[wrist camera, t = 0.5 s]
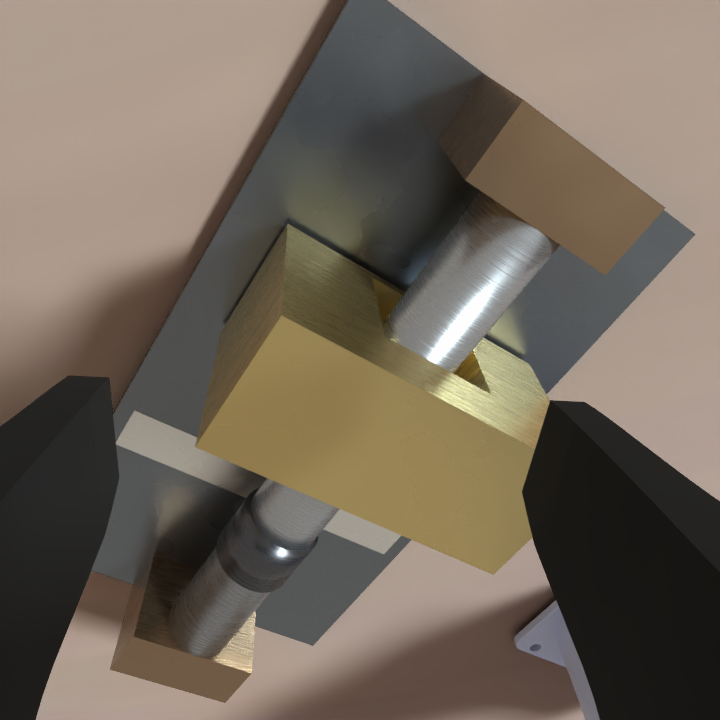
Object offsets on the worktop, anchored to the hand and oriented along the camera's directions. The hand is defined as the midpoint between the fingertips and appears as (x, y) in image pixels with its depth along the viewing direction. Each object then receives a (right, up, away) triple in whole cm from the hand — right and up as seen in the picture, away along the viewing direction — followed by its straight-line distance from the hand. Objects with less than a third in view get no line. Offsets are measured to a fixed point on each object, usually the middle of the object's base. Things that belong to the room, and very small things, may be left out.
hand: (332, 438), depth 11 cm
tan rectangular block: (+1, +2, +10) cm, 11 cm away
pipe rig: (-1, 0, +12) cm, 12 cm away
